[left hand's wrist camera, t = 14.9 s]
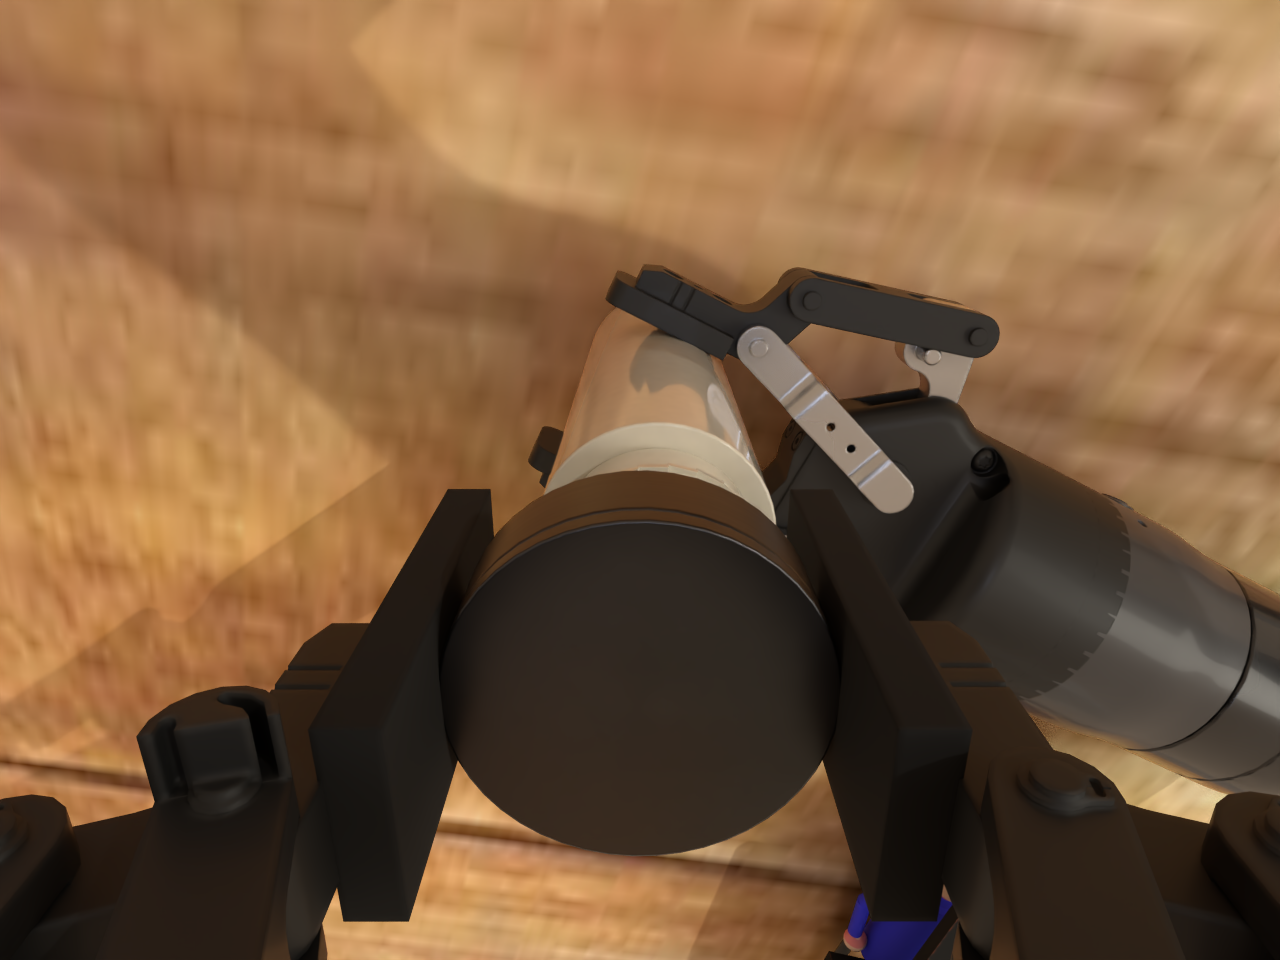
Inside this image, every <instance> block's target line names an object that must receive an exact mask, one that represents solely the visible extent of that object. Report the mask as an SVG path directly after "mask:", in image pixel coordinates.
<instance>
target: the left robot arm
mask: <svg viewBox="0 0 1280 960" xmlns="http://www.w3.org/2000/svg"><path fill="white" fill-rule="evenodd" d="M493 538H494V532H493V518H492V505H491V491H490V489H448V490H447V492H446V494H445V495H444V497H443V499H442V500H441V502H440V504H439V506H438V507H437V509H436V511H435V512H434V514H433V516H432V518H431V519H430V521H429V523H428V524H427V526H426V528H425V530H424V531H423V533H422V535H421V536H420V538H419V540H418V542H417V543H416V545H415V547H414V548H413V550H412V552H411V554H410V555H409V557H408V559H407V560H406V562H405V564H404V566H403V567H402V569H401V571H400V572H399V574H398V576H397V578H396V579H395V581H394V583H393V584H392V586H391V588H390V590H389V591H388V593H387V595H386V596H385V598H384V600H383V602H382V603H381V605H380V607H379V608H378V610H377V612H376V614H375V615H374V617H373V619H372V620H371V622H370V623H332V624H330V625H329V626H327V627H326V628H325V629H323V630H322V631H320V632H319V633H318V634H316V635H315V636H313V637H312V638H310V639H309V640H308V641H306V642H305V643H304V644H303V645H302V647H301V648H300V650H299V651H298V653H297V654H296V655H295V657H294V658H293V660H292V661H291V663H290V664H289V665H288V670H285V671H284V673H283V674H282V676H281V677H280V678H279V680H278V681H277V683H276V684H275V690H271V691H270V693H269V692H267V691H266V690H263V689H258V688H254V687H250V686H230V687H219V688H215V689H211V690H207V691H203V692H199V693H195V694H193V695H191V696H189V697H186V698H184V699H182V700H180V701H177V702H175V703H173V704H171V705H169V706H168V707H166V708H165V709H163V710H162V711H161V712H159V713H158V714H157V715H155V716H154V717H152V718H151V719H150V720H149V721H148V722H147V723H146V725H145V726H144V727H143V728H142V730H141V731H140V732H139V734H138V735H137V736H136V737H137V741H138V744H139V748H140V751H141V755H142V759H143V762H144V766H145V769H146V773H147V776H148V780H149V783H150V787H151V790H152V794H153V797H154V801H155V802H154V805H153V808H149V809H146V810H142V811H139V812H136V813H132V814H128V815H123V816H119V817H114V818H110V819H105V820H101V821H97V822H92V823H88V824H83V825H79V826H75V827H72V824H71V821H70V818H69V815H68V813H67V810H66V807H65V806H64V805H62V804H61V803H60V802H58V801H57V800H56V799H55V798H53V797H46V796H39V795H25V796H18V797H11V798H4V799H1V800H0V960H327V948H326V941H325V935H324V930H323V925H322V922H323V919H324V917H325V915H326V912H327V910H328V907H329V905H330V903H331V900H332V898H333V895H334V893H335V891H336V888H337V889H338V895H339V900H340V905H341V911H342V916H343V922H409V919H410V916H411V913H412V909H413V906H414V903H415V900H416V896H417V893H418V890H419V886H420V883H421V880H422V877H423V873H424V870H425V867H426V863H427V860H428V857H429V853H430V850H431V847H432V844H433V840H434V837H435V834H436V830H437V827H438V824H439V821H440V817H441V814H442V811H443V807H444V804H445V801H446V797H447V794H448V791H449V788H450V784H451V781H452V778H453V774H454V771H455V768H456V765H457V761H458V760H457V757H456V755H455V753H454V751H453V749H452V747H451V745H450V743H449V740H448V738H447V734H446V731H445V727H444V720H443V711H442V702H441V693H440V682H439V669H440V663H441V658H442V652H443V649H444V646H445V643H446V640H447V637H448V635H449V632H450V629H451V626H452V624H453V621H454V619H455V617H456V614H457V612H458V609H459V607H460V604H461V602H462V599H463V597H464V594H465V592H466V589H467V587H468V584H469V582H470V579H471V577H472V574H473V572H474V570H475V567H476V566H477V564H478V562H479V560H480V558H481V556H482V554H483V552H484V550H485V549H486V548H487V546H488V545H489V544H490V542H491V541H492V539H493ZM787 539H788V540H789V541H790V542H791V544H792V545H793V547H794V549H795V550H796V552H797V554H798V555H799V557H800V559H801V560H802V562H803V565H804V567H805V569H806V572H807V574H808V577H809V579H810V582H811V584H812V586H813V589H814V591H815V594H816V596H817V599H818V601H819V604H820V606H821V609H822V611H823V614H824V616H825V619H826V621H827V623H828V626H829V628H830V631H831V633H832V636H833V638H834V641H835V643H836V647H837V652H838V656H839V660H840V664H841V687H840V697H839V707H838V715H837V723H836V730H835V733H834V736H833V738H832V741H831V743H830V746H829V748H828V751H827V753H826V755H825V756H824V758H823V763H824V766H825V770H826V773H827V776H828V779H829V783H830V786H831V789H832V793H833V796H834V799H835V803H836V806H837V809H838V812H839V816H840V819H841V822H842V826H843V829H844V832H845V835H846V839H847V842H848V845H849V849H850V852H851V855H852V859H853V862H854V865H855V868H856V872H857V875H858V878H859V882H860V885H861V888H862V891H863V895H864V898H865V901H866V905H867V908H868V911H869V915H870V918H871V921H879V922H937V919H938V913H939V908H940V903H941V897H942V892H943V887H944V886H945V888H946V890H947V893H948V895H949V898H950V900H951V902H952V905H953V907H954V909H955V912H956V914H957V917H958V919H959V920H958V925H957V930H956V935H955V940H954V945H953V950H952V955H951V960H1280V796H1279V795H1272V794H1265V793H1258V792H1252V791H1249V792H1241V793H1234V794H1228V795H1227V796H1226V797H1224V798H1223V799H1222V800H1220V801H1219V802H1218V803H1217V804H1216V806H1215V808H1214V811H1213V814H1212V817H1211V820H1210V823H1209V824H1207V823H1203V822H1198V821H1194V820H1190V819H1185V818H1181V817H1176V816H1172V815H1167V814H1163V813H1158V812H1154V811H1150V810H1146V809H1142V808H1139V807H1136V806H1132V805H1129V804H1126V801H1125V799H1124V798H1123V796H1122V795H1121V793H1120V792H1119V790H1118V789H1117V787H1116V786H1115V784H1114V783H1113V782H1112V781H1111V780H1109V779H1108V778H1107V777H1106V776H1105V775H1103V774H1102V773H1101V772H1100V771H1098V770H1097V769H1096V768H1095V767H1093V766H1091V765H1089V764H1087V763H1085V762H1083V761H1081V760H1079V759H1077V758H1076V757H1074V756H1072V755H1069V754H1066V753H1062V752H1059V751H1055V750H1053V748H1052V747H1051V746H1050V744H1049V743H1048V741H1047V740H1046V739H1045V737H1044V736H1043V734H1042V733H1041V731H1040V730H1039V729H1038V727H1037V726H1036V724H1035V723H1034V721H1033V720H1032V719H1031V717H1030V716H1029V714H1028V713H1027V711H1026V710H1025V709H1024V707H1023V706H1022V704H1021V703H1020V701H1019V700H1018V699H1017V697H1016V696H1015V694H1014V693H1013V691H1012V690H1011V689H1010V687H1006V681H1005V680H1004V679H1003V677H1002V676H1001V674H1000V673H999V671H998V670H997V669H996V668H993V663H992V661H991V660H990V659H989V657H988V656H987V654H986V653H985V651H984V650H983V649H982V647H981V646H980V644H979V643H978V641H977V640H975V639H974V638H973V637H971V636H970V635H968V634H967V633H965V632H964V631H963V630H961V629H960V628H958V627H957V626H955V625H954V624H953V623H951V622H950V621H909V620H908V618H907V616H906V614H905V613H904V611H903V609H902V608H901V606H900V604H899V602H898V601H897V599H896V597H895V596H894V594H893V592H892V590H891V589H890V587H889V585H888V584H887V582H886V580H885V578H884V577H883V575H882V573H881V572H880V570H879V568H878V566H877V565H876V563H875V561H874V560H873V558H872V556H871V554H870V553H869V551H868V549H867V548H866V546H865V544H864V543H863V541H862V539H861V537H860V536H859V534H858V532H857V531H856V529H855V527H854V525H853V524H852V522H851V520H850V519H849V517H848V515H847V513H846V512H845V510H844V508H843V507H842V505H841V503H840V501H839V500H838V498H837V496H836V495H835V493H834V491H833V489H790V498H789V511H788V525H787Z"/></svg>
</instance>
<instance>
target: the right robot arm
mask: <svg viewBox="0 0 1280 960" xmlns="http://www.w3.org/2000/svg"><path fill="white" fill-rule="evenodd" d="M605 299H606V300H607V301H608V302H609V303H611V304H612V305H614V306H615V307H617V308H619V309H621V310H623V311H625V312H627V313H629V314H631V315H633V316H635V317H637V318H639V319H641V320H643V321H645V322H647V323H649V324H651V325H653V326H655V327H657V328H659V329H661V330H663V331H665V332H667V333H669V334H671V335H673V336H675V337H677V338H679V339H681V340H683V341H685V342H687V343H689V344H691V345H693V346H695V347H697V348H698V349H700V350H702V351H704V352H706V353H708V354H710V355H712V356H714V357H716V358H718V359H720V360H722V361H723V360H724V358H725V356H726V354H727V353H728V354H730V355H732V356H734V357H736V358H738V359H739V360H741V361H742V363H743V364H744V365H745V366H746V367H747V368H748V369H749V370H750V371H751V372H752V373H753V374H754V375H755V377H756V378H757V379H758V380H759V381H760V382H761V383H762V384H763V385H764V386H765V387H766V388H767V389H768V390H769V391H770V392H771V393H772V395H773V396H774V397H775V398H776V399H777V400H778V401H779V402H780V403H781V404H782V405H783V407H784V408H785V409H786V411H787V412H788V413H789V414H790V415H791V416H792V420H791V421H790V423H789V425H788V426H787V428H786V430H785V432H784V433H783V436H782V439H781V443H780V446H779V450H778V453H777V457H776V458H775V460H774V461H773V462H772V463H771V464H770V465H769V466H768V467H767V468H766V469H765V470H764V471H763V472H762V474H763V477H764V480H765V483H766V486H767V488H768V491H769V494H770V497H771V500H772V502H773V506H774V511H775V516H776V526H777V527H778V528H779V529H780V530H781V531H782V533H783V534H784V535H785V536H786V538H787V525H788V511H789V498H790V489H833V491H834V493H835V495H836V496H837V498H838V500H839V501H840V503H841V505H842V507H843V508H844V510H845V512H846V513H847V515H848V517H849V519H850V520H851V522H852V524H853V525H854V527H855V529H856V531H857V532H858V534H859V536H860V537H861V539H862V541H863V543H864V544H865V546H866V548H867V549H868V551H869V553H870V554H871V556H872V558H873V560H874V561H875V563H876V565H877V566H878V568H879V570H880V572H881V573H882V575H883V577H884V578H885V580H886V582H887V584H888V585H889V587H890V589H891V590H892V592H893V594H894V596H895V597H896V599H897V601H898V602H899V604H900V606H901V608H902V609H903V611H904V613H905V614H906V616H907V618H908V620H909V621H950V622H951V623H953V624H954V625H955V626H957V627H958V628H960V629H961V630H963V631H964V632H965V633H967V634H968V635H970V636H971V637H973V638H974V639H975V640H977V641H978V643H979V644H980V646H981V647H982V649H983V650H984V651H985V653H986V654H987V656H988V657H989V659H990V660H991V661H992V663H993V668H996V669H997V670H998V671H999V673H1000V674H1001V676H1002V677H1003V679H1004V680H1005V681H1006V687H1010V689H1011V690H1012V691H1013V693H1014V694H1015V696H1016V697H1017V699H1018V700H1019V701H1020V703H1021V704H1022V706H1023V707H1024V709H1025V710H1026V711H1027V713H1028V714H1029V715H1031V716H1034V717H1036V718H1038V719H1040V720H1042V721H1045V722H1047V723H1049V724H1052V725H1054V726H1057V727H1059V728H1062V729H1065V730H1068V731H1071V732H1075V733H1078V734H1082V735H1086V736H1089V737H1093V738H1096V739H1100V740H1103V741H1105V742H1108V743H1110V744H1113V745H1115V746H1117V747H1120V748H1122V749H1124V750H1126V751H1128V752H1130V753H1133V754H1135V755H1137V756H1139V757H1141V758H1144V759H1146V760H1148V761H1150V762H1152V763H1155V764H1157V765H1159V766H1161V767H1163V768H1165V769H1168V770H1170V771H1172V772H1175V773H1177V774H1179V775H1181V776H1183V777H1185V778H1187V779H1189V780H1192V781H1194V782H1196V783H1198V784H1201V785H1203V786H1206V787H1208V788H1210V789H1213V790H1215V791H1218V792H1222V793H1225V794H1234V793H1241V792H1249V791H1252V792H1258V793H1265V794H1272V795H1279V796H1280V595H1279V594H1277V593H1275V592H1274V591H1272V590H1270V589H1268V588H1266V587H1264V586H1262V585H1260V584H1258V583H1256V582H1254V581H1252V580H1250V579H1248V578H1246V577H1244V576H1242V575H1241V574H1239V573H1237V572H1235V571H1233V570H1231V569H1229V568H1227V567H1225V566H1223V565H1221V564H1219V563H1217V562H1215V561H1213V560H1211V559H1210V558H1208V557H1206V556H1205V555H1203V554H1202V553H1201V552H1199V551H1198V550H1196V549H1195V548H1194V547H1192V546H1191V545H1190V544H1188V543H1187V542H1186V541H1185V540H1183V539H1182V538H1180V537H1179V536H1177V535H1176V534H1175V533H1173V532H1172V531H1170V530H1168V529H1167V528H1165V527H1163V526H1161V525H1160V524H1158V523H1156V522H1154V521H1152V520H1150V519H1148V518H1146V517H1144V516H1143V515H1141V514H1139V513H1137V512H1135V511H1134V509H1133V508H1131V507H1130V506H1128V505H1127V503H1125V502H1123V501H1121V500H1119V499H1117V498H1115V497H1112V496H1109V495H1106V494H1100V493H1098V492H1096V491H1094V490H1092V489H1090V488H1089V487H1087V486H1085V485H1083V484H1081V483H1079V482H1077V481H1075V480H1073V479H1071V478H1069V477H1067V476H1065V475H1063V474H1061V473H1059V472H1057V471H1055V470H1053V469H1052V468H1050V467H1048V466H1046V465H1044V464H1042V463H1040V462H1038V461H1036V460H1034V459H1032V458H1030V457H1028V456H1026V455H1024V454H1022V453H1020V452H1018V451H1017V450H1015V449H1013V448H1011V447H1009V446H1007V445H1005V444H1003V443H1001V442H999V441H997V440H995V439H993V438H991V437H989V436H987V435H985V434H983V433H982V432H980V431H978V430H977V429H976V428H975V427H974V426H973V425H972V423H971V421H970V420H969V418H968V416H967V414H966V412H965V411H964V410H963V408H962V407H961V406H960V405H958V404H957V403H958V400H959V397H960V395H961V392H962V389H963V387H964V384H965V381H966V378H967V376H968V373H969V370H970V368H971V365H972V362H973V359H974V358H979V357H983V356H985V355H987V354H988V353H990V352H991V351H992V350H993V349H994V348H995V346H996V345H997V343H998V340H999V334H1000V332H999V327H998V325H997V323H996V322H995V320H993V319H992V318H991V317H989V316H987V315H984V314H982V313H980V312H978V311H976V310H973V309H971V308H969V307H967V306H964V305H962V304H960V303H958V302H955V301H950V300H946V299H941V298H937V297H932V296H927V295H923V294H918V293H914V292H909V291H905V290H900V289H896V288H891V287H887V286H882V285H878V284H873V283H868V282H864V281H859V280H855V279H850V278H846V277H841V276H837V275H832V274H828V273H823V272H819V271H814V270H809V269H805V268H792V269H790V270H788V271H786V272H785V273H784V274H783V275H782V276H781V277H780V279H779V281H778V284H777V285H776V286H774V287H773V288H772V289H771V290H770V291H769V292H768V293H767V294H766V295H765V296H763V297H762V298H761V299H760V300H758V301H756V302H754V303H752V304H746V305H741V304H736V303H733V302H731V301H729V300H727V299H725V298H723V297H721V296H720V295H718V294H716V293H714V292H712V291H710V290H708V289H706V288H704V287H702V286H700V285H698V284H696V283H694V282H692V281H690V280H689V279H687V278H685V277H683V276H680V275H679V274H677V273H675V272H673V271H671V270H669V269H667V268H665V267H663V266H658V265H647V264H644V265H643V267H642V269H641V271H640V273H639V275H638V277H637V278H635V277H633V276H631V275H629V274H627V273H624V272H622V271H617V273H616V275H615V277H614V280H613V282H612V284H611V286H610V288H609V290H608V292H607V295H606V298H605ZM811 323H812V324H817V325H821V326H826V327H830V328H835V329H840V330H844V331H849V332H854V333H858V334H863V335H867V336H872V337H877V338H881V339H886V340H891V341H895V352H896V355H897V357H898V358H899V359H900V360H901V361H902V362H904V363H905V364H906V365H907V366H909V367H910V368H911V369H913V370H915V371H918V373H919V376H920V387H919V388H914V389H907V390H901V391H895V392H888V393H882V394H875V395H869V396H862V397H856V398H850V399H843V400H839V399H838V398H837V397H836V396H835V395H834V393H833V392H832V391H831V390H830V389H829V388H828V387H827V386H826V385H825V384H824V383H823V381H822V380H821V379H820V378H819V377H818V376H817V375H816V374H815V373H814V372H813V371H812V369H811V368H810V367H809V366H808V365H807V364H806V363H805V362H804V361H803V360H802V359H801V358H800V357H799V356H798V355H797V354H796V353H795V351H794V350H793V349H792V348H791V347H790V346H789V345H788V343H789V342H790V341H791V340H793V339H794V338H795V337H796V336H797V335H798V334H799V333H801V332H802V331H803V330H804V329H805V328H806V327H807V326H808V325H810V324H811ZM562 435H563V432H562V431H560V430H558V429H555V428H552V427H547V426H545V427H543V428H542V430H541V432H540V434H539V436H538V438H537V440H536V442H535V444H534V447H533V449H532V451H531V454H530V456H529V459H528V462H529V463H530V465H531V466H532V467H534V468H535V469H537V470H538V471H540V472H542V476H541V479H540V482H539V483H540V484H541V485H542V486H543V487H544V488H545V487H546V484H547V481H548V478H549V475H550V472H551V469H552V466H553V463H554V459H555V456H556V453H557V450H558V447H559V444H560V441H561V438H562Z"/></svg>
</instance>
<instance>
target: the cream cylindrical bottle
mask: <svg viewBox="0 0 1280 960" xmlns="http://www.w3.org/2000/svg"><path fill="white" fill-rule="evenodd" d="M640 470H650V471H660V472H670V473H676V474H680V475H685V476H689V477H694V478H698V479H701V480H703V481H706V482H709V483H712V484H714V485H717V486H720V487H722V488H724V489H726V490H728V491H730V492H732V493H733V494H735V495H737V496H739V497H741V498H743V499H744V500H746V501H747V502H748V503H750V504H751V505H753V506H754V507H756V508H757V509H759V510H760V511H761V512H762V513H763V514H764V515H766V516H767V517H768V518H769V519H770V520H771V521H772V522H773V523H774V524H775V525H776V516H775V511H774V506H773V502H772V500H771V497H770V494H769V491H768V488H767V486H766V483H765V480H764V477H763V474H762V472H761V469H760V466H759V463H758V461H757V458H756V455H755V452H754V450H753V447H752V444H751V441H750V439H749V436H748V433H747V430H746V428H745V425H744V422H743V419H742V417H741V414H740V411H739V408H738V406H737V403H736V400H735V397H734V394H733V392H732V389H731V386H730V383H729V381H728V378H727V375H726V372H725V370H724V367H723V364H722V361H721V360H720V359H718V358H716V357H714V356H712V355H710V354H708V353H706V352H704V351H702V350H700V349H698V348H697V347H695V346H693V345H691V344H689V343H687V342H685V341H683V340H681V339H679V338H677V337H675V336H673V335H671V334H669V333H667V332H665V331H663V330H661V329H659V328H657V327H655V326H653V325H651V324H649V323H647V322H645V321H643V320H641V319H639V318H637V317H635V316H633V315H631V314H629V313H627V312H625V311H623V310H621V309H619V308H615V309H614V310H613V311H612V312H611V313H609V314H608V315H607V316H606V318H605V319H604V320H603V321H602V323H601V324H600V326H599V328H598V329H597V332H596V334H595V336H594V339H593V342H592V345H591V348H590V351H589V354H588V357H587V361H586V364H585V367H584V370H583V373H582V376H581V379H580V382H579V385H578V388H577V391H576V395H575V398H574V401H573V404H572V407H571V410H570V413H569V416H568V419H567V422H566V425H565V429H564V432H563V435H562V438H561V441H560V444H559V447H558V450H557V453H556V456H555V459H554V463H553V466H552V469H551V472H550V475H549V478H548V481H547V484H546V487H545V490H544V493H543V495H545V494H547V493H549V492H550V491H552V490H554V489H557V488H559V487H562V486H564V485H566V484H569V483H571V482H574V481H577V480H580V479H584V478H588V477H591V476H595V475H598V474H605V473H612V472H619V471H640Z"/></svg>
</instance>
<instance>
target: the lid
mask: <svg viewBox="0 0 1280 960" xmlns="http://www.w3.org/2000/svg"><path fill="white" fill-rule="evenodd" d="M439 682H440V693H441V702H442V711H443V720H444V727H445V731H446V734H447V738H448V740H449V743H450V745H451V747H452V749H453V751H454V753H455V755H456V757H457V760H458V761H459V763H460V764H461V766H462V767H463V769H464V770H465V772H466V773H467V775H468V776H469V778H470V779H471V780H472V781H473V782H474V784H475V785H476V786H477V787H478V788H479V789H480V791H481V792H482V793H483V794H484V795H485V796H486V797H487V798H488V799H489V800H491V801H492V802H493V803H494V804H495V805H496V806H497V807H498V808H499V809H501V810H502V811H503V812H505V813H506V814H508V815H509V816H510V817H512V818H513V819H515V820H516V821H518V822H519V823H521V824H523V825H524V826H526V827H528V828H530V829H532V830H534V831H535V832H537V833H539V834H541V835H544V836H546V837H548V838H551V839H553V840H556V841H558V842H561V843H564V844H567V845H570V846H574V847H577V848H581V849H584V850H589V851H594V852H600V853H605V854H614V855H626V856H657V855H666V854H674V853H682V852H686V851H691V850H695V849H700V848H704V847H707V846H710V845H713V844H716V843H719V842H722V841H725V840H728V839H730V838H732V837H734V836H736V835H739V834H741V833H743V832H745V831H747V830H749V829H751V828H753V827H754V826H756V825H758V824H759V823H761V822H763V821H764V820H766V819H768V818H769V817H770V816H772V815H773V814H774V813H775V812H777V811H778V810H779V809H781V808H782V807H783V806H785V805H786V804H787V803H788V802H789V801H790V800H791V799H792V798H793V797H794V796H795V795H796V794H797V793H798V792H799V791H800V790H801V789H802V788H803V787H804V785H805V784H806V783H807V782H808V780H809V779H810V778H811V777H812V775H813V774H814V773H815V771H816V770H817V768H818V766H819V765H820V763H821V761H822V760H823V758H824V756H825V755H826V753H827V751H828V748H829V746H830V743H831V741H832V738H833V736H834V733H835V730H836V723H837V715H838V707H839V697H840V687H841V664H840V660H839V656H838V652H837V647H836V643H835V641H834V638H833V636H832V633H831V631H830V628H829V626H828V623H827V621H826V619H825V616H824V614H823V611H822V609H821V606H820V604H819V601H818V599H817V596H816V594H815V591H814V589H813V586H812V584H811V582H810V579H809V577H808V574H807V572H806V569H805V567H804V565H803V562H802V560H801V559H800V557H799V555H798V554H797V552H796V550H795V549H794V547H793V545H792V544H791V542H790V541H789V540H788V539H787V538H786V536H785V535H784V534H783V533H782V531H781V530H780V529H779V528H778V527H777V526H776V525H775V524H774V523H773V522H772V521H771V520H770V519H769V518H768V517H767V516H766V515H764V514H763V513H762V512H761V511H760V510H759V509H757V508H756V507H754V506H753V505H751V504H750V503H748V502H747V501H746V500H744V499H743V498H741V497H739V496H737V495H735V494H733V493H732V492H730V491H728V490H726V489H724V488H722V487H720V486H717V485H714V484H712V483H709V482H706V481H703V480H701V479H698V478H694V477H689V476H685V475H680V474H676V473H670V472H660V471H650V470H640V471H619V472H612V473H605V474H598V475H595V476H591V477H588V478H584V479H580V480H577V481H574V482H571V483H569V484H566V485H564V486H562V487H559V488H557V489H554V490H552V491H550V492H549V493H547V494H545V495H543V496H542V497H540V498H538V499H536V500H535V501H533V502H531V503H530V504H529V505H528V506H526V507H525V508H524V509H522V510H521V511H520V512H518V513H517V514H516V515H515V516H513V517H512V518H511V519H510V520H509V521H508V522H507V523H506V524H505V525H504V526H503V528H502V529H501V530H500V531H499V532H498V533H497V534H496V535H495V537H494V538H493V539H492V541H491V542H490V544H489V545H488V546H487V548H486V549H485V550H484V552H483V554H482V556H481V558H480V560H479V562H478V564H477V566H476V567H475V570H474V572H473V574H472V577H471V579H470V582H469V584H468V587H467V589H466V592H465V594H464V597H463V599H462V602H461V604H460V607H459V609H458V612H457V614H456V617H455V619H454V621H453V624H452V626H451V629H450V632H449V635H448V637H447V640H446V643H445V646H444V649H443V652H442V658H441V663H440V669H439Z"/></svg>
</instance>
